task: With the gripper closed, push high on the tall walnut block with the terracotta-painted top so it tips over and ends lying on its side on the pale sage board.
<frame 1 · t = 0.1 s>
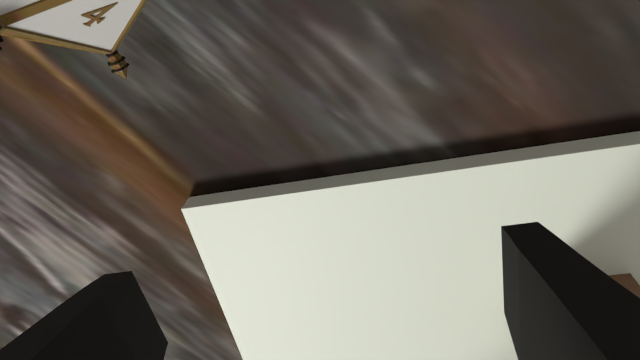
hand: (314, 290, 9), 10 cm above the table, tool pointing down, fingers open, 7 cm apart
walnut block: (576, 312, 20), point 1 cm above the table, touching board
board: (435, 309, 22), on the table
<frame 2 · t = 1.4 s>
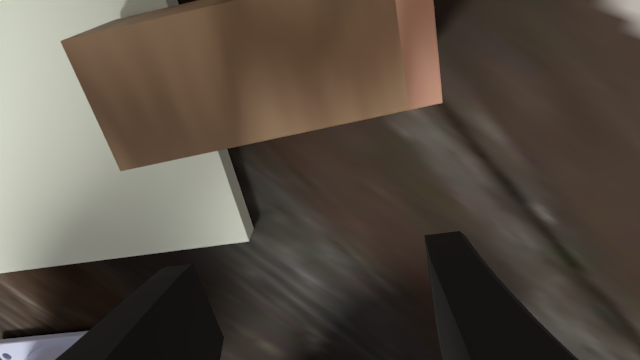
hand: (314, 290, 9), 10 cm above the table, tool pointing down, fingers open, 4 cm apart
walnut block: (117, 91, 15), point 3 cm above the table, tilted 97°, touching board
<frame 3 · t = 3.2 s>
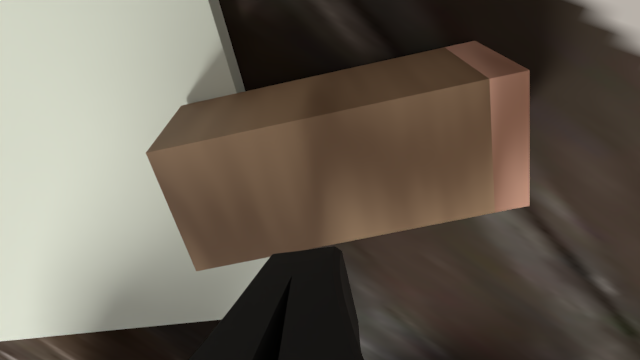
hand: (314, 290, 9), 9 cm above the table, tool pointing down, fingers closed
walnut block: (188, 183, 15), point 3 cm above the table, tilted 97°, touching board
board: (29, 174, 19), on the table
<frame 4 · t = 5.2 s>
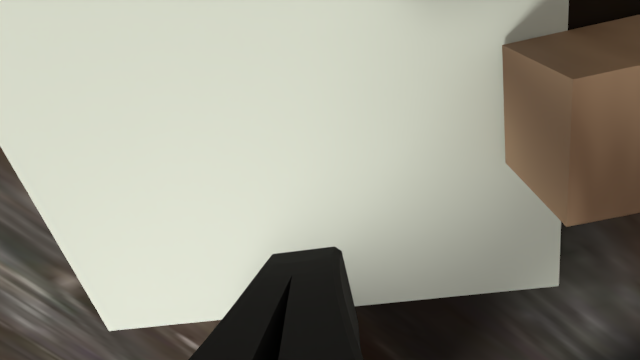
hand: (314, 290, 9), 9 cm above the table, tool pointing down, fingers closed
walnut block: (532, 129, 13), point 3 cm above the table, tilted 97°, touching board
board: (270, 133, 17), on the table
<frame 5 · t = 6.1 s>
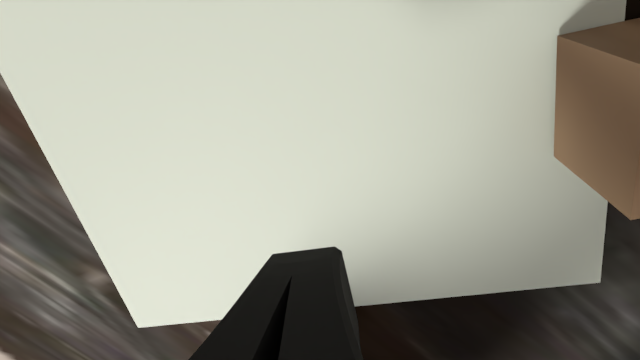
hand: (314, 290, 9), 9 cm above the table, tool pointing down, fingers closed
walnut block: (591, 121, 13), point 3 cm above the table, tilted 97°, touching board
board: (310, 127, 17), on the table
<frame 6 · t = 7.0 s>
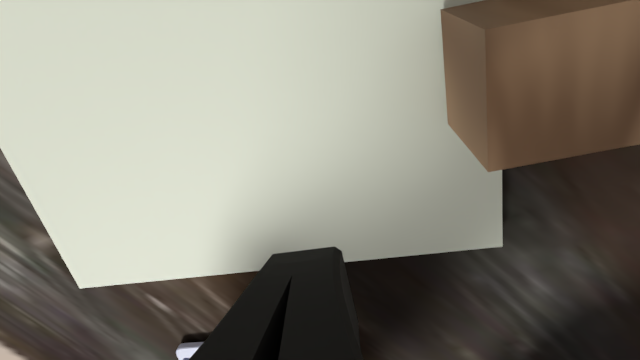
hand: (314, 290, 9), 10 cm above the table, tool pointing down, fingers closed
walnut block: (462, 85, 14), point 3 cm above the table, tilted 97°, touching board
board: (231, 95, 18), on the table
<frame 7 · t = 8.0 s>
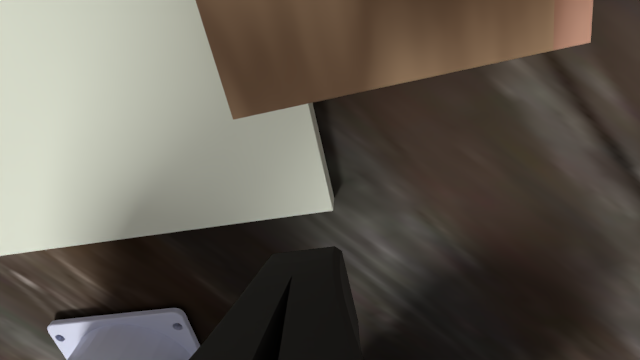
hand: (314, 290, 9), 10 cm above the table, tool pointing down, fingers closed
walnut block: (222, 36, 14), point 3 cm above the table, tilted 97°, touching board
board: (47, 61, 18), on the table
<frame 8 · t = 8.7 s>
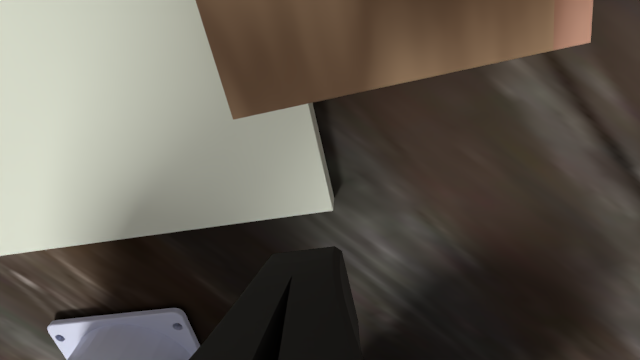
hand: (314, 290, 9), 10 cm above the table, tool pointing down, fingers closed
walnut block: (222, 36, 14), point 3 cm above the table, tilted 97°, touching board
board: (47, 61, 18), on the table
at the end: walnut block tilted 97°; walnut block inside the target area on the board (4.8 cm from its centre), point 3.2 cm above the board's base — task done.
